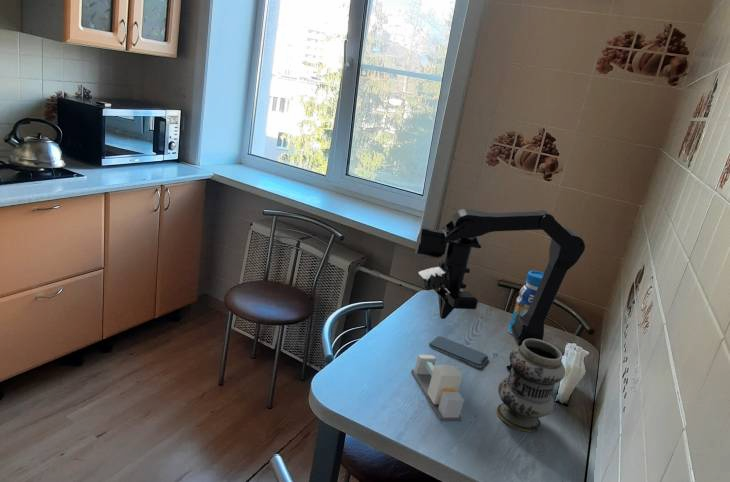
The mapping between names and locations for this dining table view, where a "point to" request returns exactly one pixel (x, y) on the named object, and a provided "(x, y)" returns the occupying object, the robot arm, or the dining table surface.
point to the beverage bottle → (526, 295)
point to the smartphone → (459, 352)
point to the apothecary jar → (530, 384)
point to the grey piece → (449, 398)
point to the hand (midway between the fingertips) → (442, 318)
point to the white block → (443, 381)
